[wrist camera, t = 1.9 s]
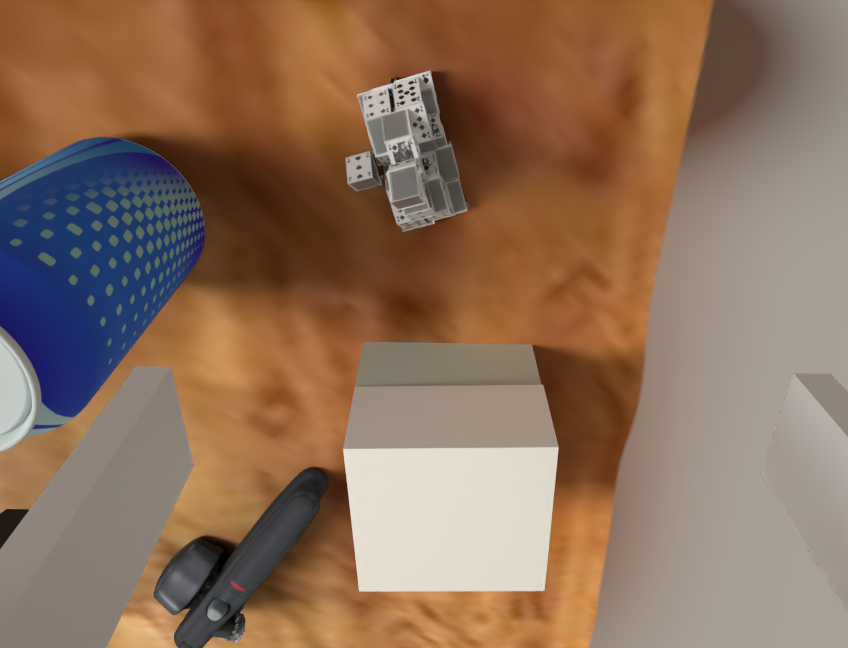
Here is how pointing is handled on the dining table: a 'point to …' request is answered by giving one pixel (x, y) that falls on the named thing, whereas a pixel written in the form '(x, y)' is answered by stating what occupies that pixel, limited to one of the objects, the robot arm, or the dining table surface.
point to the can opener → (236, 566)
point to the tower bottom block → (446, 364)
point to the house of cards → (408, 153)
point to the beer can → (85, 272)
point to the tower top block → (451, 487)
